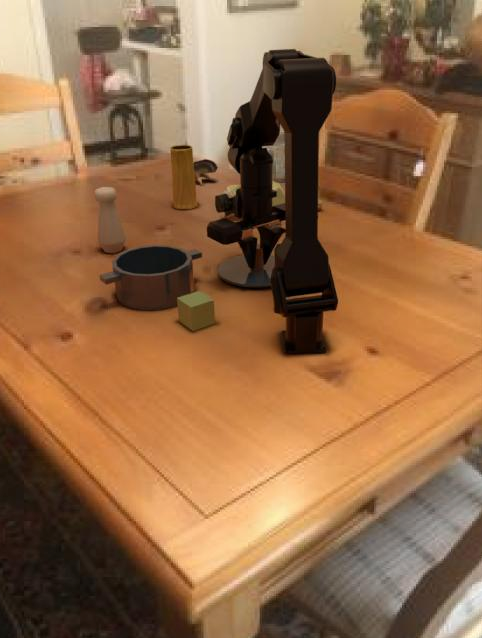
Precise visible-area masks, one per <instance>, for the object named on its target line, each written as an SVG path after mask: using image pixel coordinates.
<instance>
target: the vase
mask: <svg viewBox="0 0 482 638" xmlns="http://www.w3.org/2000/svg"><path fill="white" fill-rule="evenodd" d="M169 151H170V161H171V163H170V164H171V178H172V199H173V201H172V206H173V208H174V209H176V210H181V211H182V210H183V211H185V210H193V209H196V208H197V207H198V205H199V204H198V201H197V187H196V179H195V174H194V153H193V151H194V150H193V146H192V145H188V144H175V145H172V146H170V149H169Z"/></svg>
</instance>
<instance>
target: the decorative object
mask: <svg viewBox="0 0 482 638" xmlns="http://www.w3.org/2000/svg"><path fill="white" fill-rule="evenodd" d="M239 188H241V186H240V184H229V185H228V186H226V189H225V190H224V191H222V192H221V193H219V195H222V194H227V195H228V197H229V198H232V197H236V189H239ZM272 190H275V191H277V197H274V198H272V207H273V206H275V205H279V204H283V203H285V190H284V189H283V187H282V186H281V185H280V183H279V182H277V181H274V180H272ZM322 207H323V200H321V199H318V211H321V209H322Z"/></svg>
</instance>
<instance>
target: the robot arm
mask: <svg viewBox="0 0 482 638" xmlns="http://www.w3.org/2000/svg"><path fill="white" fill-rule="evenodd" d="M336 86H337V74H336V71H335V67H333V66H332V65H331V64H330V63H329V62H328V60H327V59H326V58H325V57H316V56H312V55H309V54H306V53H303V52H302V51H301V50H297V49H296V48H284V49H283V48H282V49H269V50H268V51H265V52H264V53H263V57H262V69H261V72H260V74H259V77H258V80H257V82H256V85H255V88H254V90H253V93H252V96H251V98H250V100H249V101H247V102H245V103H243V104H241V105H240V106H239V107H238V109H237V110H236V112H235V115H234V117H233V118H232V120H231V124H230V125H229V129H228V133H227V136H226V142H227V146H228V147H229V148H228V151H227V161H228V163H229V164H230V166H231V167H232V168H233V169H234V170H235V171H236V172H237V173H238V175H239V177H240V179H239V181H240V184H239V186H241V188H239V189H236V197H232V198H229V197H228V195H227V194H222V195H220V194H218V195H215V197H214V207H215V210H216V213H217V214H220V213H224V216H225V217H224V218H223V217H222V218H220V219H215V220H211V221H209V223H208V224H207V226H206V237H207V238H209V239H211V240H213V241H215V242H216V243H219V244H220V245H223V246H228V245H232V244H236V243H237V244H238V245H239V248H240V249H241V252H242V255H244V257H245V259H246V262H247V264H248V267H249V268H251V269H253V268H254V264H255V257H256V249H257V244H258V241H259V244H261V245H263V246H264V265H266V263H267V261H268V259H269V257H270V255H272V253H273V255H275V267H274V268H273V269H272V274H271V278H270V283H271V286H270V289H271V294H272V302H273V312H274V314H278V315H280V316H281V317H282V318H283V319H284V318H285V330H282V331H281V339H282V341H281V342H282V347H283V352H284V354H312V353H313V354H314V353H315V354H317V353H327V352H328V348H327V344H326V340H325V336H324V332H323V328H324V327H323V326H324V314H325V313H324V312H331V311H332V312H334V311H337V308H338V304H339V297H338V294H337V290H336V285H335V282H334V281H335V280H334V275H333V273H332V268H331V265H330V263H329V262H330V261H329V260H330V259H329V255H328V253H327V252H326V250H325V248H324V247H323V245H322V243H321V242H320V240H319V235H318V234H319V210H318V200H319V172H320V171H319V169H320V167H319V166H320V165H319V163H320V159H319V158H320V157H319V156H320V131H321V130H322V128H323V126H324V124H325V122H326V121H327V119H328V117H329V116H330V114H331V112H332V108H333V98H334V97H333V95H334V94H335V92H336ZM281 128H282V130H283V133H284V194H285V203H283V204H279V205H275V206H273V207H272V198H274V197H277V191H275V190H272V181H273V163H274V158H273V155H272V154H271V153H270V152H269V150H268V148H267V147H271V146H274V145H275V143H276V142H277V140H278V139H279V136H280V134H281ZM231 215H233V217H234V218H236V219H240V220H239V221H233V220H232V219H229V218H227V217H228V216H231ZM282 222H284V223H285V228H284V227H282V225H283V224H282ZM254 229H256V230H257V231H258V235H259V238H258V237H256V236H254ZM284 234H285V235H284ZM282 235H284V237H283V239H282V241H281V243H278V242H279V241H280V239H281V237H282ZM258 239H259V240H258ZM308 295H309V296H308ZM300 296H303V297H300ZM293 297H296V298H293Z"/></svg>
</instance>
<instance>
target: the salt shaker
mask: <svg viewBox="0 0 482 638" xmlns="http://www.w3.org/2000/svg"><path fill="white" fill-rule="evenodd" d="M94 199H95V201H96V202H98V216H97V217H98V218H97V242H98V244H99V246H100V247H101V249H103V251H104V253H107V254H115V253H116V254H117V253H119V252H120V253H121V252H122V250H123V249H124V245H125V243H126V234H125V231H124V228H123V225H122V221H121V218H120V214H119V211H118V208H117V204H116V202H115V201H116V200H117V191H116V189H115V188H114V187H112V186H102V187H98V188H97V189H95V191H94Z"/></svg>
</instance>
